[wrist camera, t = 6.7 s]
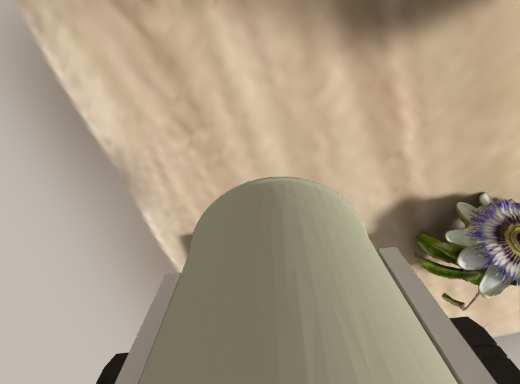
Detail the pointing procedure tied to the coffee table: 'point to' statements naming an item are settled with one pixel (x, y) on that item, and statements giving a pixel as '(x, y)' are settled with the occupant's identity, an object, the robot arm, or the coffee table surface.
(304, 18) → the coffee table surface
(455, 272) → the passion flower
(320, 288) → the can
